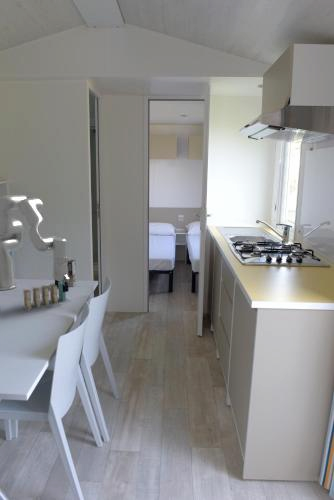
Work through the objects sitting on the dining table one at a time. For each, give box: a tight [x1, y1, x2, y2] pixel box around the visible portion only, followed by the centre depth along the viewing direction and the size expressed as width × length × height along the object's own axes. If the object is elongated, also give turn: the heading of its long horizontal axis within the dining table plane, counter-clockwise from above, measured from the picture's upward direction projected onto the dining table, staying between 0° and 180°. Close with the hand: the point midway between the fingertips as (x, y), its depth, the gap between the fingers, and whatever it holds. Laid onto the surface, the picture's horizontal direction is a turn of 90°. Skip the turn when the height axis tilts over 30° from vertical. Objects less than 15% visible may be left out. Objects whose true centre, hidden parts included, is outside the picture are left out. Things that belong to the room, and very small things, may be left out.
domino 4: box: [49, 282, 59, 303], centre depth 211 cm, size 5×2×10 cm, turn 42°
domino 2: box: [32, 286, 41, 307], centre depth 205 cm, size 5×2×10 cm, turn 42°
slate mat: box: [19, 297, 72, 313], centre depth 209 cm, size 9×26×1 cm, turn 132°
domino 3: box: [41, 284, 50, 305], centre depth 208 cm, size 5×2×10 cm, turn 42°
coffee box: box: [64, 259, 77, 287], centre depth 242 cm, size 9×6×16 cm
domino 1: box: [23, 288, 32, 310], centre depth 201 cm, size 5×2×10 cm, turn 42°
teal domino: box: [57, 282, 67, 301], centre depth 214 cm, size 5×2×10 cm, turn 41°
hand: (61, 289), depth 214 cm, fingers open, 9 cm apart
